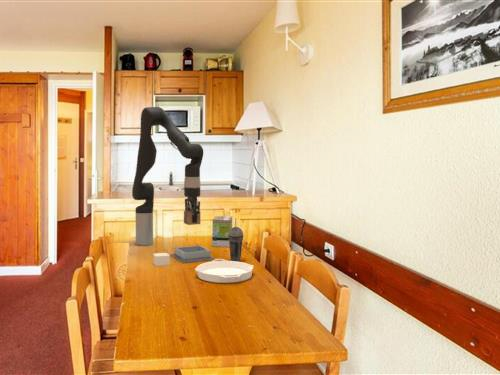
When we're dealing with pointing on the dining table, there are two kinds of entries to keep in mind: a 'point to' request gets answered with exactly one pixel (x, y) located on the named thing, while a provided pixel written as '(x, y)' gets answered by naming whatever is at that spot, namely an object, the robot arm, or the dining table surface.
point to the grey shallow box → (192, 254)
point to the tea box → (221, 231)
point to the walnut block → (190, 218)
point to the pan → (224, 271)
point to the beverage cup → (235, 243)
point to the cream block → (161, 259)
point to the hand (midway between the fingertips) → (192, 221)
